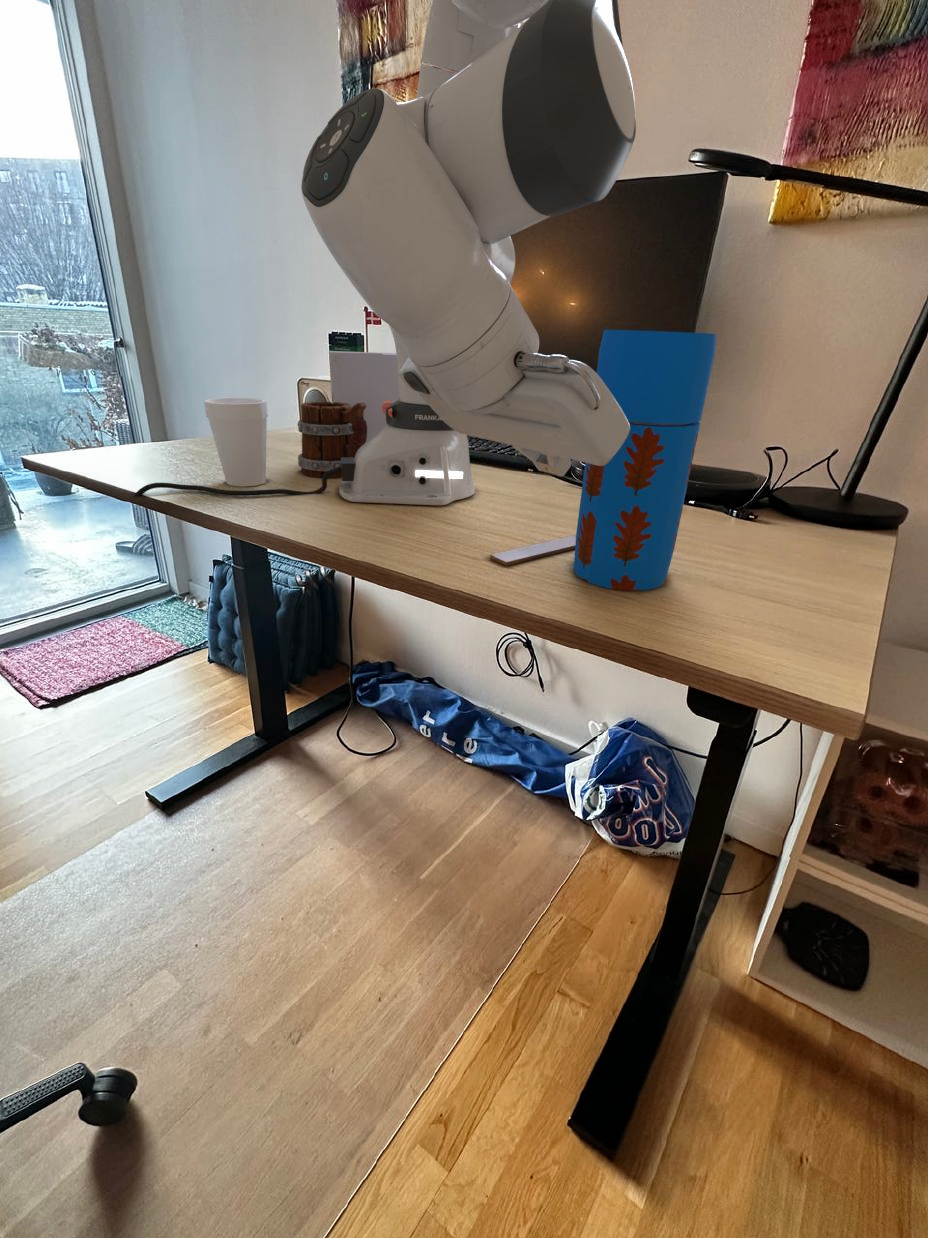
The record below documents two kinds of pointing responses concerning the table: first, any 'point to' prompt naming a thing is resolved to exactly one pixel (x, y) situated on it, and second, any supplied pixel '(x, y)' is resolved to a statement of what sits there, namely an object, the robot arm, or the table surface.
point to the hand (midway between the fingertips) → (556, 468)
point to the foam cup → (240, 438)
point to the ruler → (535, 551)
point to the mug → (330, 435)
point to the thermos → (643, 457)
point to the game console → (365, 383)
